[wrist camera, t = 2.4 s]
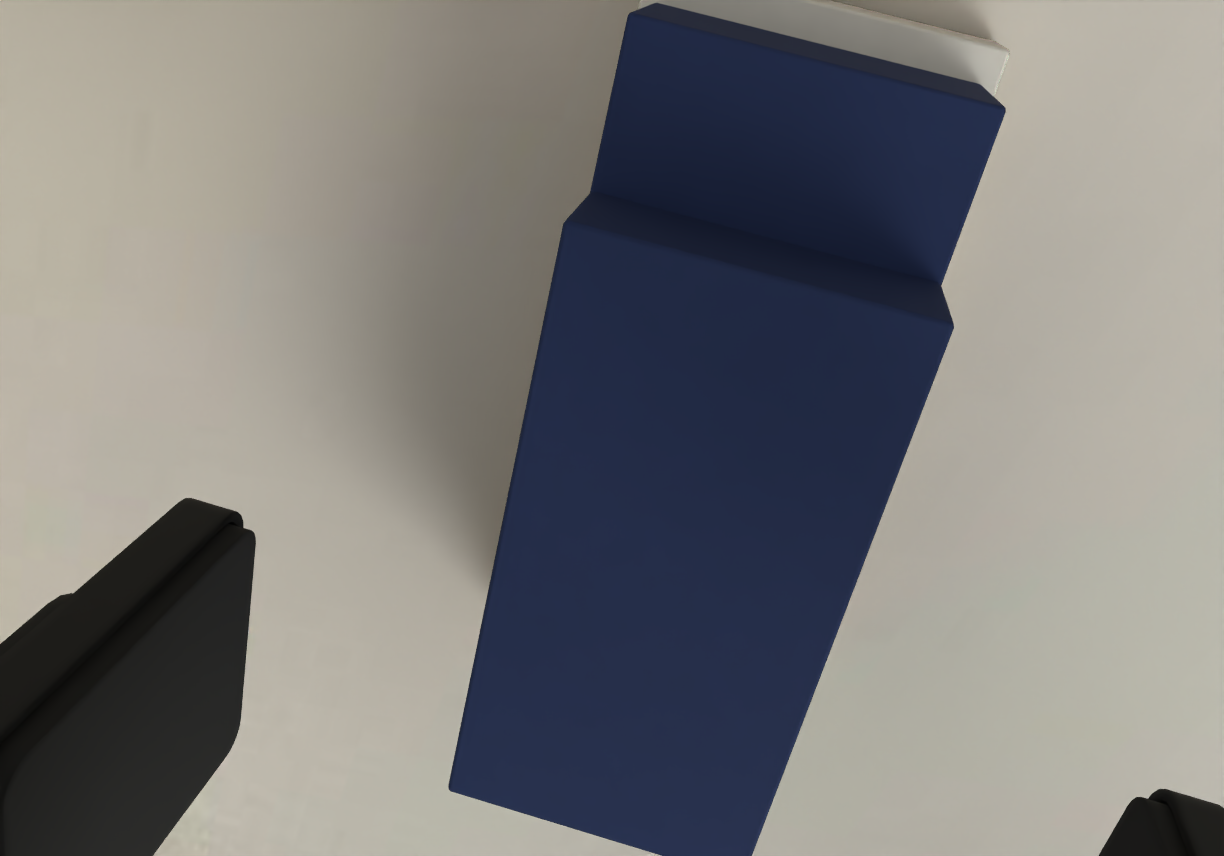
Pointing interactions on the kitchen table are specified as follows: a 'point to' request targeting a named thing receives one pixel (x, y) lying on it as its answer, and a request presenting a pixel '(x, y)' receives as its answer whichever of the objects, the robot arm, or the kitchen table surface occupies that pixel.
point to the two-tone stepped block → (720, 409)
